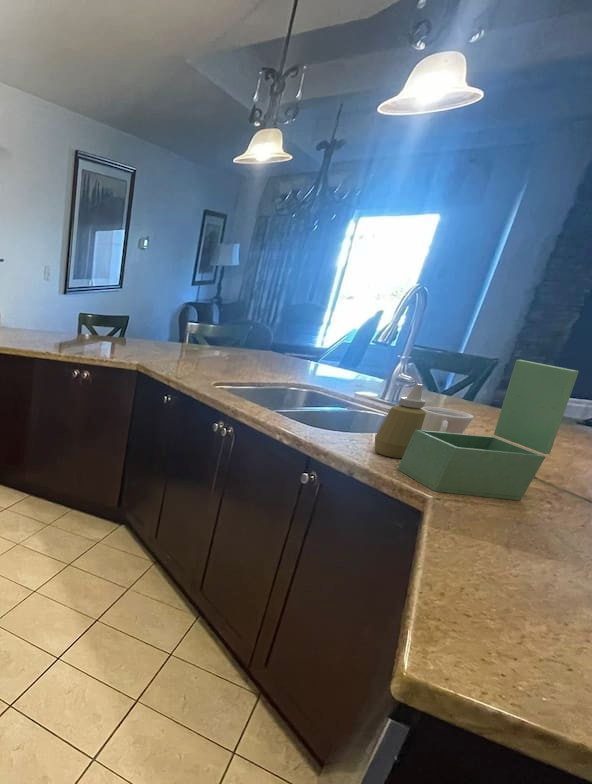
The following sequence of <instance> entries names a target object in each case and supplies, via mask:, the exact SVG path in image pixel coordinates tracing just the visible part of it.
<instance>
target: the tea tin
mask: <svg viewBox="0 0 592 784" xmlns="http://www.w3.org/2000/svg"><path fill="white" fill-rule="evenodd" d="M546 457H547V456H546V455H545V454H542V453H539V452H537V451H534V450H531V449H529V448H526V447H524V446H521V445H518V444H516V443H513V442H511V441H508V440H505V439H503V438H500V437H497V436H490V435H480V434H469V433H462V434H458V433H447V432H436V431H425V430H415V431H414V433H413V435H412V438H411V440H410V442H409V444H408V447H407V449H406V451H405V453H404V455H403V458H401V460H400V462H399V464H398V467H397V469H396V470H398V472H401V473H402V474H405V475H406V476H407V477H409V478H411V479H413V480H414V481H416V482H417V483H420V484H421V485H423V486H424V487H426V488H427V489H429V490H432V491H433V492H438V493H444V494H445V493H447V494H455V495H466V496H472V497H473V496H474V497H485V498H492V499H493V498H494V499H503V500H512V501H521V500H522V499H523V497H524V496H525V494H526V492H527V490H528V488H529V486H530V485H531V483H532V482H533V480H534V478H535V476H536V474H537V473H538V472H539V469H540V468H541V466H542V465H543V462H544V461H545V459H546Z"/></svg>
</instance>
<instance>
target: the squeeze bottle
mask: <svg viewBox="0 0 592 784" xmlns="http://www.w3.org/2000/svg"><path fill="white" fill-rule="evenodd" d="M423 389H424V384H422V383H416V384H415V386H414V387H413V388H412V389H411V391H410V392H409V393H408V395H407V396H401V397H400V398H399V401H398V404H396V405H393V406H391V407H390V409H389V411H388V413H387V415H386V416H385V418H384V419H383V422H382V423H381V424H380V427H379V429H378V430H377V432H376V434H375V435H374V451H375V453H377V454H379V455H382V456H385V457H388V458H396V459H402V458H403V455H404V453H405V451H406V449H407V447H408V444H409V442H410V440H411V438H412V435H413V433H414V431H415V430H421V428H422V425H423V422H424V418H425V415H426V412H425V411H424V410H423V409H421V408H423V407H425V405H426V403H427V401H426V400H425V399H422V395H423Z"/></svg>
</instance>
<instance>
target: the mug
mask: <svg viewBox="0 0 592 784" xmlns="http://www.w3.org/2000/svg"><path fill="white" fill-rule="evenodd" d="M421 409H423V410H424V411H425V412H426V415H425V418H424V422H423V425H422V428H421V430H425V431H436V432H447V433H458V434H464V432H465V430H466V429H467V428H468V426H469V425H470V423H471V422H472V421H473V420H474V419H475V416H474V415H472V414H470V413H468V412H465V411H461V410H456V409H451V408H445V407H439V406H424V407H423V408H421Z"/></svg>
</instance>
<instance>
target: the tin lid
mask: <svg viewBox="0 0 592 784" xmlns="http://www.w3.org/2000/svg"><path fill="white" fill-rule="evenodd" d="M579 372H580V371H579V370H576V369H570V368H566V367H561V366H556V365H550V364H546V363H545V364H544V363H541V362H540V363H539V362H535V361H529V360H524V359H516V360H515V362H514V365H513V369H512V372H511V376H510V380H509V383H508V386H507V389H506V393H505V396H504V399H503V402H502V405H501V409H500V412H499V416H498V418H497V423H496V427H495V429H494V432H493V436H495V437H497V438H500V439H503V440H505V441H508V442H510V443H513V444H516V445H518V446H521V447H524V448H526V449H529V450H532V451H534V452H537V453H540V454H542V455H550V454H551V451H552V449H553V447H554V443H555V440H556V438H557V435H558V432H559V429H560V426H561V423H562V420H563V417H564V415H565V412H566V410H567V406H568V403H569V400H570V398H571V394H572V392H573V389H574V386H575V384H576V381H577V377H578V374H579Z"/></svg>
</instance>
